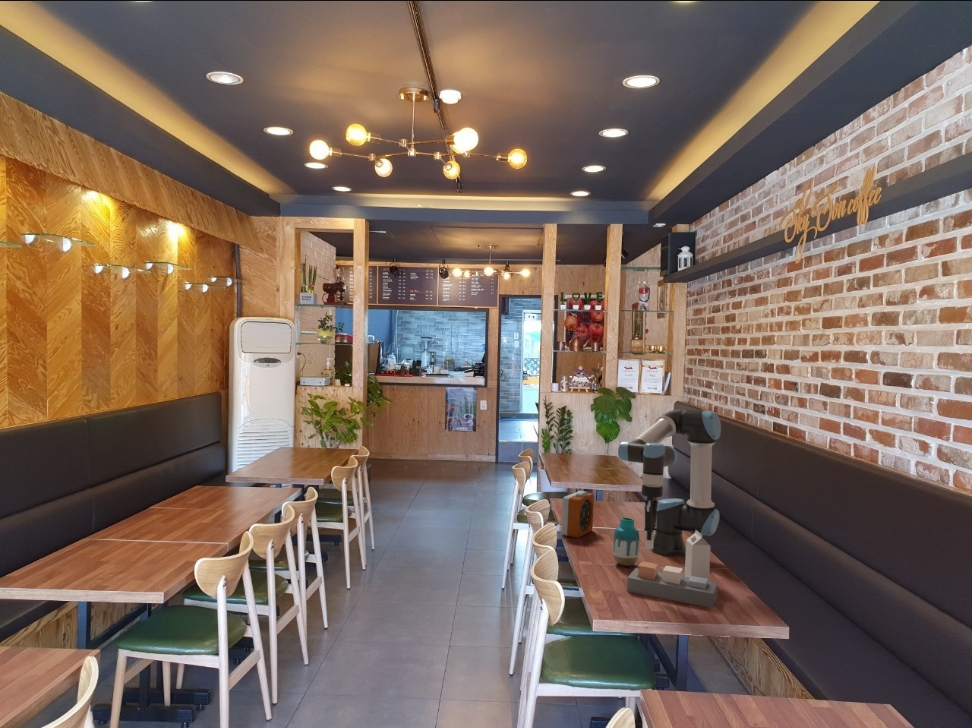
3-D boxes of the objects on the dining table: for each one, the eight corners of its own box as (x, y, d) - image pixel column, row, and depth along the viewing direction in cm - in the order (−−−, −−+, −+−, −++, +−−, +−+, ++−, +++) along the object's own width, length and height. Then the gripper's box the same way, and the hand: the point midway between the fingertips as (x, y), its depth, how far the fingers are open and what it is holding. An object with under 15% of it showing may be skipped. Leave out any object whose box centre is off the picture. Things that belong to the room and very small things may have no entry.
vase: (610, 566, 269) (612, 520, 268) (614, 559, 279) (616, 514, 278) (636, 570, 265) (638, 523, 265) (639, 562, 275) (641, 517, 275)
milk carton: (702, 578, 259) (704, 530, 259) (708, 584, 252) (711, 535, 252) (684, 577, 259) (686, 529, 259) (690, 583, 252) (693, 534, 252)
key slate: (690, 591, 241) (690, 575, 241) (707, 594, 238) (708, 578, 238) (687, 596, 235) (688, 580, 235) (705, 600, 233) (705, 583, 233)
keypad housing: (635, 580, 253) (635, 567, 253) (716, 596, 240) (717, 582, 240) (627, 591, 241) (627, 577, 241) (712, 608, 228) (713, 593, 228)
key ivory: (665, 581, 245) (666, 565, 245) (682, 584, 242) (682, 568, 242) (662, 585, 239) (663, 570, 239) (679, 589, 237) (680, 573, 237)
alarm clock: (577, 539, 307) (579, 495, 307) (560, 535, 312) (562, 492, 311) (593, 530, 323) (594, 489, 322) (576, 527, 328) (578, 486, 327)
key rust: (641, 576, 249) (642, 561, 249) (657, 579, 246) (658, 564, 246) (637, 581, 243) (638, 565, 243) (654, 584, 241) (654, 568, 241)
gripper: (645, 481, 251) (642, 542, 252) (638, 486, 240) (635, 550, 240) (665, 483, 248) (662, 545, 248) (659, 489, 236) (656, 554, 237)
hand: (649, 548), depth 244 cm, fingers closed
